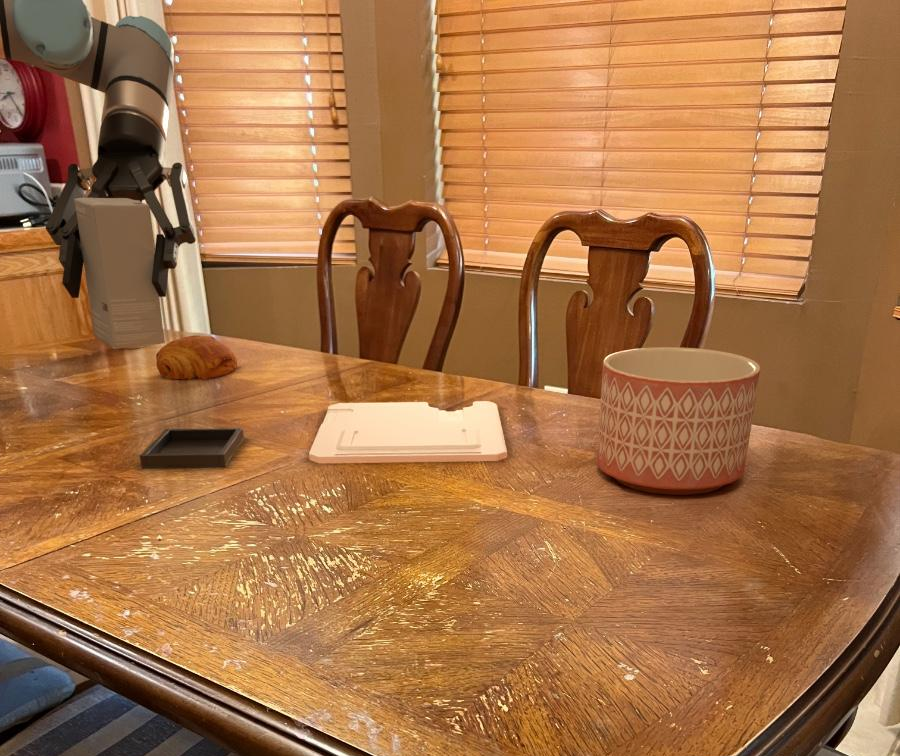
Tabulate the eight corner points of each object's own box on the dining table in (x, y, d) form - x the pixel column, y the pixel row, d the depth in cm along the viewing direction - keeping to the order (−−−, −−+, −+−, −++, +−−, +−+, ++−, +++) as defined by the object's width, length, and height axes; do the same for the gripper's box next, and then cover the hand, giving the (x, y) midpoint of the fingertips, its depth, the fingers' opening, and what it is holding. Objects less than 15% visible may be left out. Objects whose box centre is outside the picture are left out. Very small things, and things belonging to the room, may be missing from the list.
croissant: (148, 387, 168) (135, 347, 164) (204, 360, 179) (194, 322, 175) (200, 394, 161) (188, 353, 157) (256, 366, 172) (246, 326, 168)
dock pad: (142, 470, 119) (139, 455, 118) (167, 442, 130) (165, 428, 129) (225, 469, 119) (223, 454, 118) (244, 441, 130) (242, 427, 129)
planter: (660, 511, 103) (674, 389, 97) (567, 466, 118) (573, 357, 111) (774, 483, 112) (794, 368, 105) (673, 444, 126) (685, 341, 120)
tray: (330, 410, 145) (330, 401, 144) (496, 407, 145) (496, 398, 144) (308, 465, 120) (307, 454, 119) (508, 462, 120) (508, 451, 119)
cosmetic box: (93, 339, 106) (64, 198, 98) (151, 332, 109) (127, 195, 102) (113, 351, 100) (83, 201, 92) (173, 343, 103) (149, 198, 96)
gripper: (231, 157, 109) (219, 308, 102) (57, 159, 109) (34, 311, 102) (215, 107, 102) (201, 267, 95) (29, 110, 102) (2, 269, 95)
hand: (114, 290), depth 99 cm, fingers closed on cosmetic box, 9 cm apart
